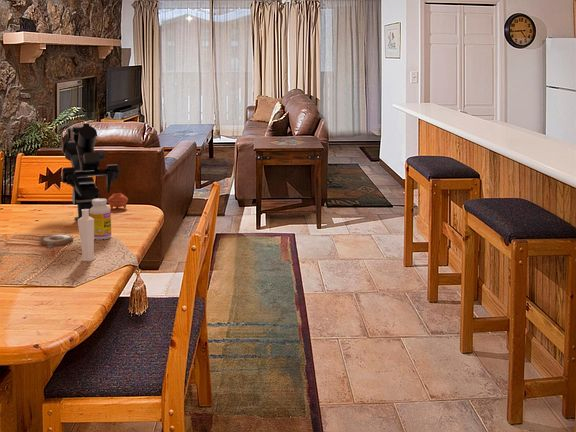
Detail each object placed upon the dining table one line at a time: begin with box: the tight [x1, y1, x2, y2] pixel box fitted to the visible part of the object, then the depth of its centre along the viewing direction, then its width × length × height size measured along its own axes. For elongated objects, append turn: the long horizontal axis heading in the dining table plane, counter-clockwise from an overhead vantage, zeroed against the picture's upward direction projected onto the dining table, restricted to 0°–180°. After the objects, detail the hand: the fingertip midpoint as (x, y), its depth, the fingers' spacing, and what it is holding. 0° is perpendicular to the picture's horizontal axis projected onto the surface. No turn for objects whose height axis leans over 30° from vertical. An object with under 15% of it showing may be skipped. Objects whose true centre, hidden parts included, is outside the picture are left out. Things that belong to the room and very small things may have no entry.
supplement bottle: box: [89, 197, 112, 241], centre depth 211 cm, size 7×7×13 cm
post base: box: [39, 232, 74, 249], centre depth 207 cm, size 13×10×1 cm
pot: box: [107, 192, 129, 210], centre depth 255 cm, size 8×8×7 cm
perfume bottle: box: [77, 209, 96, 262], centre depth 188 cm, size 5×4×15 cm
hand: (95, 194), depth 217 cm, fingers open, 9 cm apart
